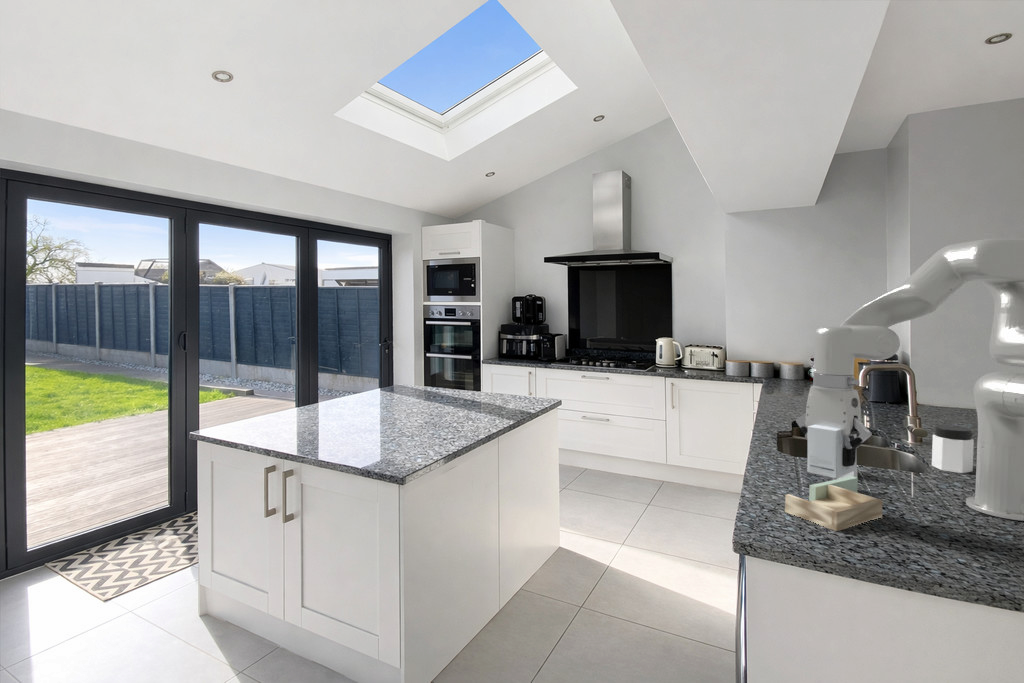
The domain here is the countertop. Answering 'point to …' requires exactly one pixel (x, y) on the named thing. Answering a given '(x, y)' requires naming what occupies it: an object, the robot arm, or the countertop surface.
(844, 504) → the wooden tray
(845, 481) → the gate
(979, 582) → the countertop surface
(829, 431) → the skincare box
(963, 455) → the jar
